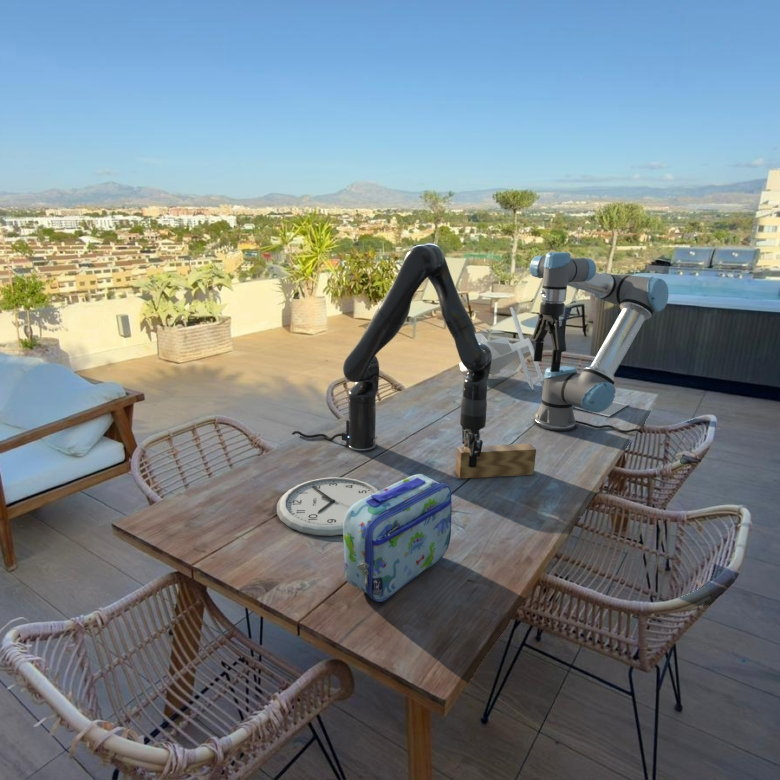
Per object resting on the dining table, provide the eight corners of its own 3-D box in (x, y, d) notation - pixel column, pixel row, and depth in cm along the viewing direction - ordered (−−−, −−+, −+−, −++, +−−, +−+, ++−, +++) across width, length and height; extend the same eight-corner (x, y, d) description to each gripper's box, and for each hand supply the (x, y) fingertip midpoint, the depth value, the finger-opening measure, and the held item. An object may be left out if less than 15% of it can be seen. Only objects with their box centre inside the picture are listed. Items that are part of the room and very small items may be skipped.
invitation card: (608, 416, 214) (573, 407, 224) (608, 416, 214) (573, 408, 224) (628, 404, 229) (594, 396, 238) (628, 405, 229) (594, 397, 238)
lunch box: (371, 615, 102) (372, 521, 96) (337, 588, 110) (335, 499, 103) (455, 559, 120) (460, 477, 114) (420, 540, 127) (423, 461, 121)
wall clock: (392, 527, 129) (268, 531, 127) (391, 533, 130) (269, 537, 127) (383, 473, 158) (282, 475, 155) (383, 478, 158) (282, 480, 156)
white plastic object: (480, 418, 266) (459, 395, 242) (461, 346, 288) (441, 318, 264) (550, 394, 254) (536, 368, 229) (526, 321, 276) (510, 289, 251)
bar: (527, 468, 167) (530, 443, 164) (533, 474, 163) (536, 449, 160) (455, 471, 164) (457, 446, 161) (459, 478, 159) (461, 452, 157)
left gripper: (455, 403, 162) (452, 454, 167) (468, 419, 148) (464, 474, 154) (478, 402, 163) (474, 453, 168) (493, 418, 150) (489, 473, 155)
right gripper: (526, 296, 178) (520, 357, 185) (559, 307, 155) (551, 376, 161) (547, 296, 179) (540, 357, 186) (582, 307, 156) (574, 376, 162)
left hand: (470, 463), depth 161 cm, fingers closed on bar, 4 cm apart
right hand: (545, 366), depth 173 cm, fingers open, 13 cm apart
